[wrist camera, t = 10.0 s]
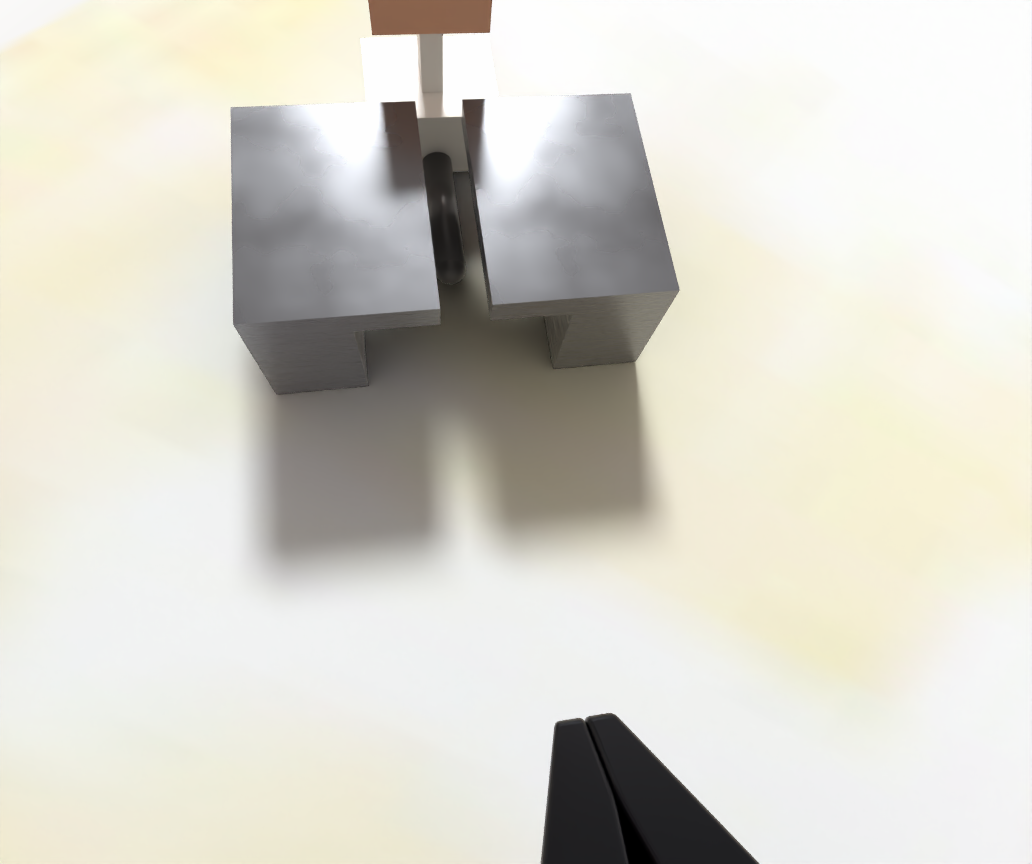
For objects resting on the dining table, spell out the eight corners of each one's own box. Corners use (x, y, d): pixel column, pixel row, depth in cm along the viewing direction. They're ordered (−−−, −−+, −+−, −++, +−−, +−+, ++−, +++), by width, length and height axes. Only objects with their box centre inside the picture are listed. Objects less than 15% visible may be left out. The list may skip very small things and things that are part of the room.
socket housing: (635, 361, 27) (679, 290, 22) (276, 394, 25) (233, 325, 20) (598, 192, 29) (630, 93, 24) (270, 210, 27) (230, 107, 22)
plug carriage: (515, 285, 27) (556, 54, 17) (387, 295, 26) (350, 60, 16) (484, 95, 30) (503, -198, 20) (368, 99, 29) (328, -202, 19)
